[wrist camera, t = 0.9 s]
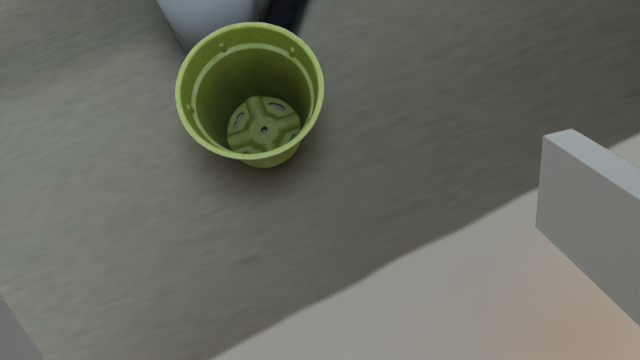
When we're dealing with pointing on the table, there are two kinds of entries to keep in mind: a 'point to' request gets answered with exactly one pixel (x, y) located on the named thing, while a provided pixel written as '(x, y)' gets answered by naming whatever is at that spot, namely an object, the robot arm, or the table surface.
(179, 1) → the slate jar
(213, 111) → the plant pot
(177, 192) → the table surface
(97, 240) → the table surface
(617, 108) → the table surface
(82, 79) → the table surface
